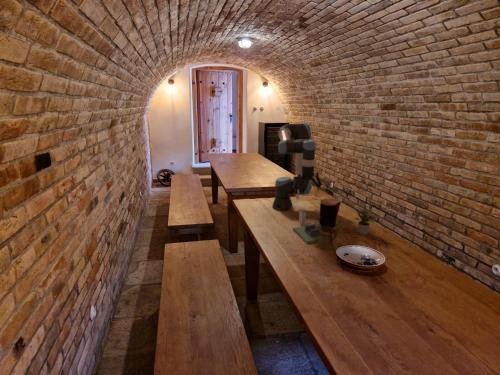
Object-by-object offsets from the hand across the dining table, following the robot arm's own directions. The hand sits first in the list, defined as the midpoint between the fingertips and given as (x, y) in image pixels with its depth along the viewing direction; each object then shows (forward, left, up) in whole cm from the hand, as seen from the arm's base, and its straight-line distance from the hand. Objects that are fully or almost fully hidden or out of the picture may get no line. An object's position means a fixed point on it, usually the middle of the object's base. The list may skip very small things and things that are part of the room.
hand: (306, 197), depth 204 cm
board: (+16, -4, -19) cm, 25 cm away
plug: (-1, -2, -19) cm, 19 cm away
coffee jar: (+9, +11, -19) cm, 24 cm away
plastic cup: (-9, +26, -19) cm, 34 cm away
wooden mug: (+34, -2, -19) cm, 39 cm away
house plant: (+23, +27, -19) cm, 40 cm away
